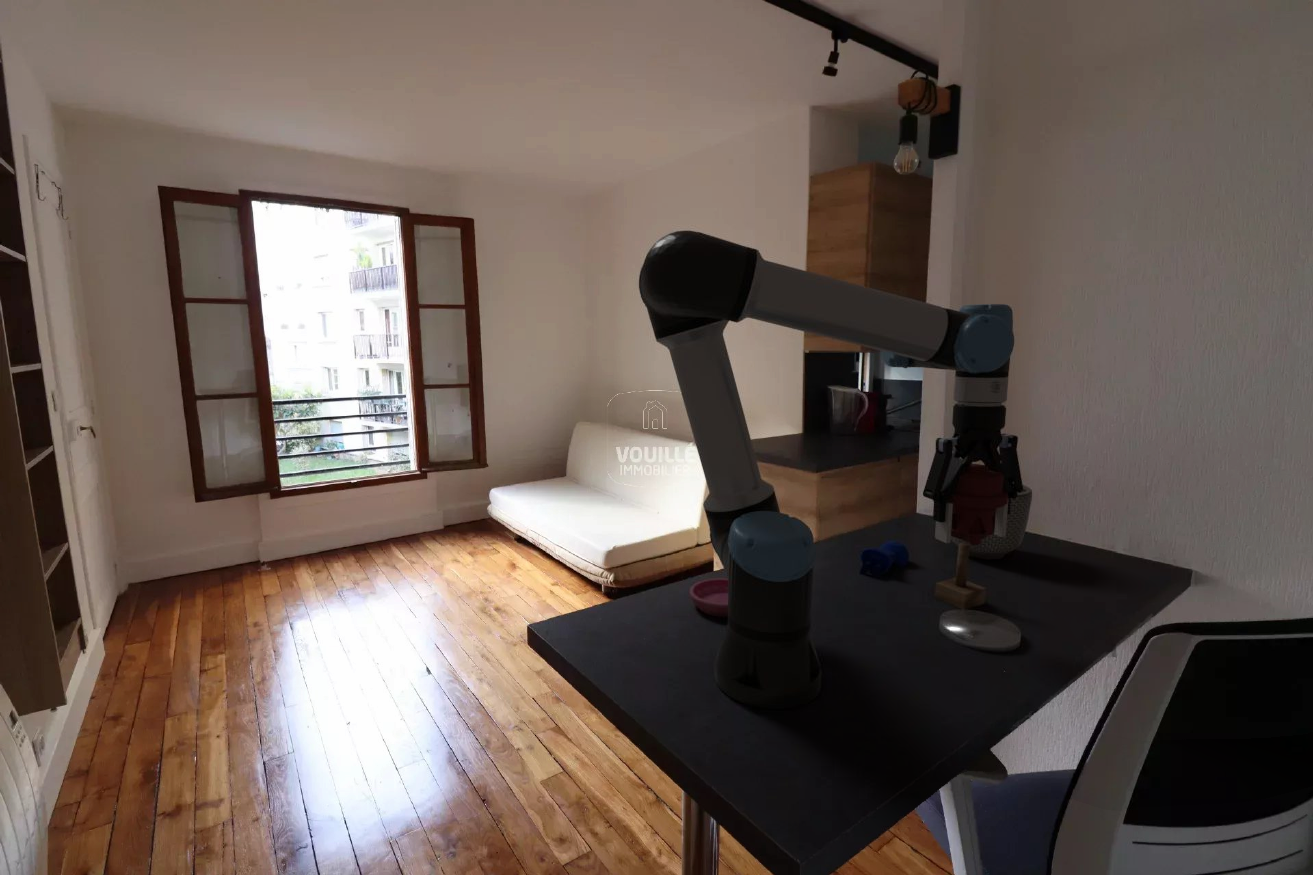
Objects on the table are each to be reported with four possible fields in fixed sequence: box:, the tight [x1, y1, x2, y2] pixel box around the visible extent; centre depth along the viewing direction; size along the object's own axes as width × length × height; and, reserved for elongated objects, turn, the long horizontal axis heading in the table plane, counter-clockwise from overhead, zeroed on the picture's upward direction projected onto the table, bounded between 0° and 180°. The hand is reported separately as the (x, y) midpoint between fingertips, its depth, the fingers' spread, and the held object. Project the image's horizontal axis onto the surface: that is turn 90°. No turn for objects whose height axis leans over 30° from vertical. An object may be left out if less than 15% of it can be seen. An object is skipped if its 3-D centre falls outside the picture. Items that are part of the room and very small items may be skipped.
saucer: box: [689, 577, 728, 618], centre depth 113 cm, size 12×12×3 cm
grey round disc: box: [938, 609, 1022, 653], centre depth 102 cm, size 12×12×2 cm
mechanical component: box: [942, 463, 1008, 545], centre depth 100 cm, size 12×10×10 cm
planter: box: [950, 482, 1033, 561], centre depth 139 cm, size 17×17×16 cm
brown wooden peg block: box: [934, 543, 987, 610], centre depth 114 cm, size 6×6×11 cm
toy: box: [859, 540, 910, 580], centre depth 132 cm, size 7×6×15 cm
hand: (970, 537), depth 101 cm, fingers closed on mechanical component, 10 cm apart
